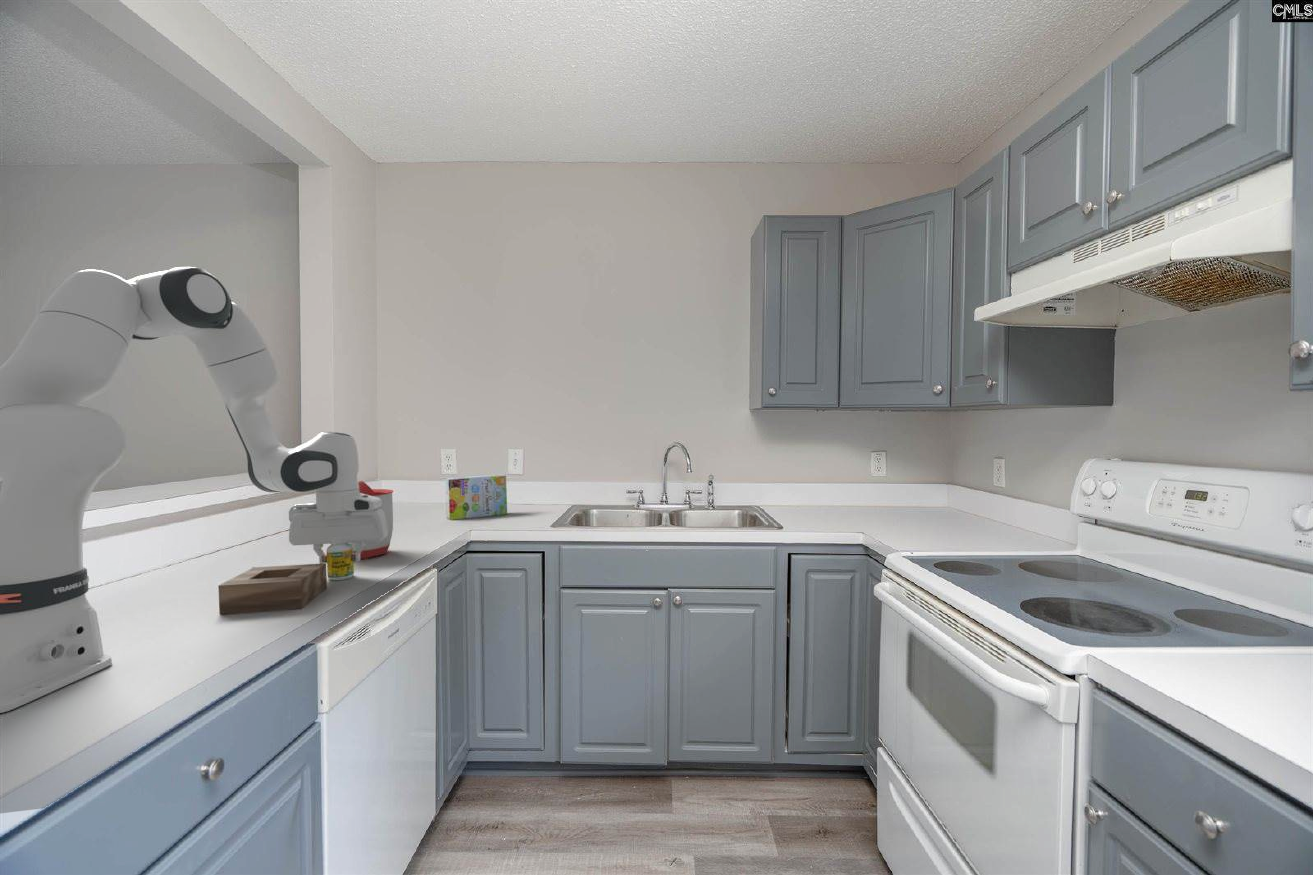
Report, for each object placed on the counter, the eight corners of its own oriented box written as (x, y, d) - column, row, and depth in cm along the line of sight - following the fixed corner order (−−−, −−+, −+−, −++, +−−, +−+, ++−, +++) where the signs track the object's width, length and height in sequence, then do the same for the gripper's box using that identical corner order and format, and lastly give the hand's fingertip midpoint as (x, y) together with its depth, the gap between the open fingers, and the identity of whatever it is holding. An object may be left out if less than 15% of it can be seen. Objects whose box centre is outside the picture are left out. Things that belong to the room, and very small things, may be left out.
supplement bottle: (352, 573, 140) (350, 533, 140) (355, 578, 136) (354, 536, 135) (326, 577, 137) (324, 536, 137) (328, 582, 133) (327, 539, 132)
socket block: (301, 608, 114) (300, 580, 114) (219, 614, 111) (218, 585, 111) (326, 588, 128) (326, 563, 127) (254, 593, 125) (253, 567, 125)
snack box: (503, 512, 229) (502, 474, 229) (507, 514, 224) (506, 475, 224) (446, 518, 218) (445, 477, 218) (449, 520, 213) (448, 478, 213)
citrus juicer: (310, 562, 152) (308, 484, 152) (361, 547, 169) (358, 477, 168) (361, 565, 148) (358, 485, 148) (407, 550, 165) (405, 478, 164)
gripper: (282, 506, 131) (284, 568, 131) (381, 502, 135) (383, 562, 135) (294, 502, 137) (296, 561, 137) (388, 498, 141) (390, 556, 141)
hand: (340, 562), depth 136 cm, fingers closed on supplement bottle, 5 cm apart
